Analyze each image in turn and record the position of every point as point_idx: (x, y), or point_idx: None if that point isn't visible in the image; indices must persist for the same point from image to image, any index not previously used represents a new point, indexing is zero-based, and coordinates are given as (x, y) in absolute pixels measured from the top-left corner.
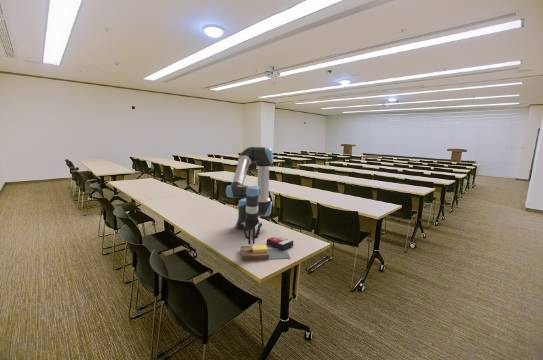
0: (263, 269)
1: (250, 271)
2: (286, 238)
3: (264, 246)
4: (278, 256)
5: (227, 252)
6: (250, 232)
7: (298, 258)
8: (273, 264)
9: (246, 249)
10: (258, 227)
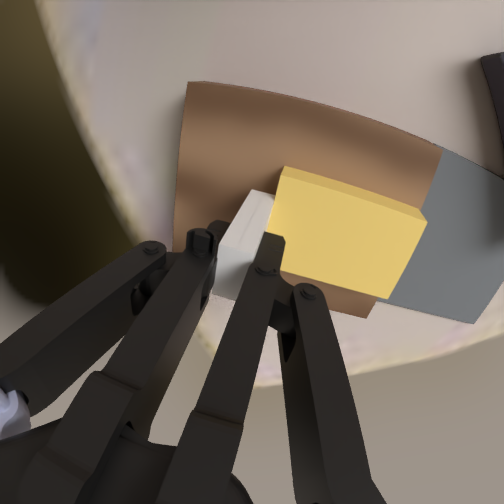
0: (279, 355)
1: (212, 343)
2: None
3: (393, 247)
4: (436, 290)
5: (109, 92)
6: (170, 372)
7: (494, 333)
8: (353, 341)
9: (226, 166)
10: (294, 487)
